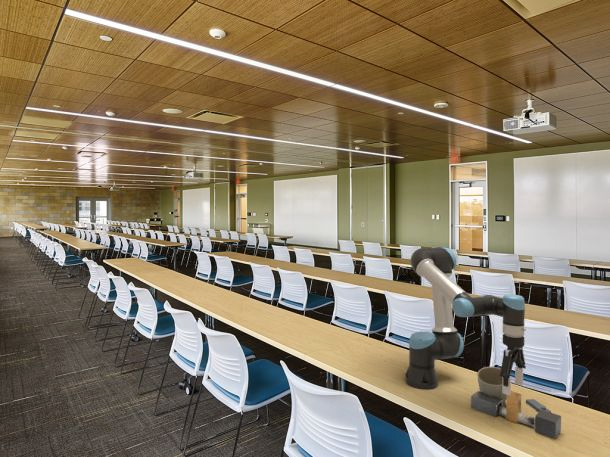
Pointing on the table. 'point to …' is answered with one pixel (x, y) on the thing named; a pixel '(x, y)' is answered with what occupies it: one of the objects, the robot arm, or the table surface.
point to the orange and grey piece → (515, 410)
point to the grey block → (485, 403)
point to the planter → (491, 382)
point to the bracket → (536, 405)
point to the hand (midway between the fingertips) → (512, 389)
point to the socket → (548, 424)
